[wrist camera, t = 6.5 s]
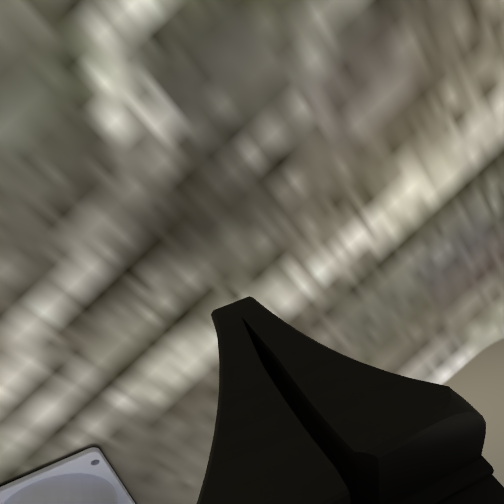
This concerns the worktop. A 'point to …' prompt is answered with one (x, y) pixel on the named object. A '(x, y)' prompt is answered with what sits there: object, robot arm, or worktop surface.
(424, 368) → the worktop surface
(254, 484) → the robot arm
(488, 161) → the worktop surface
